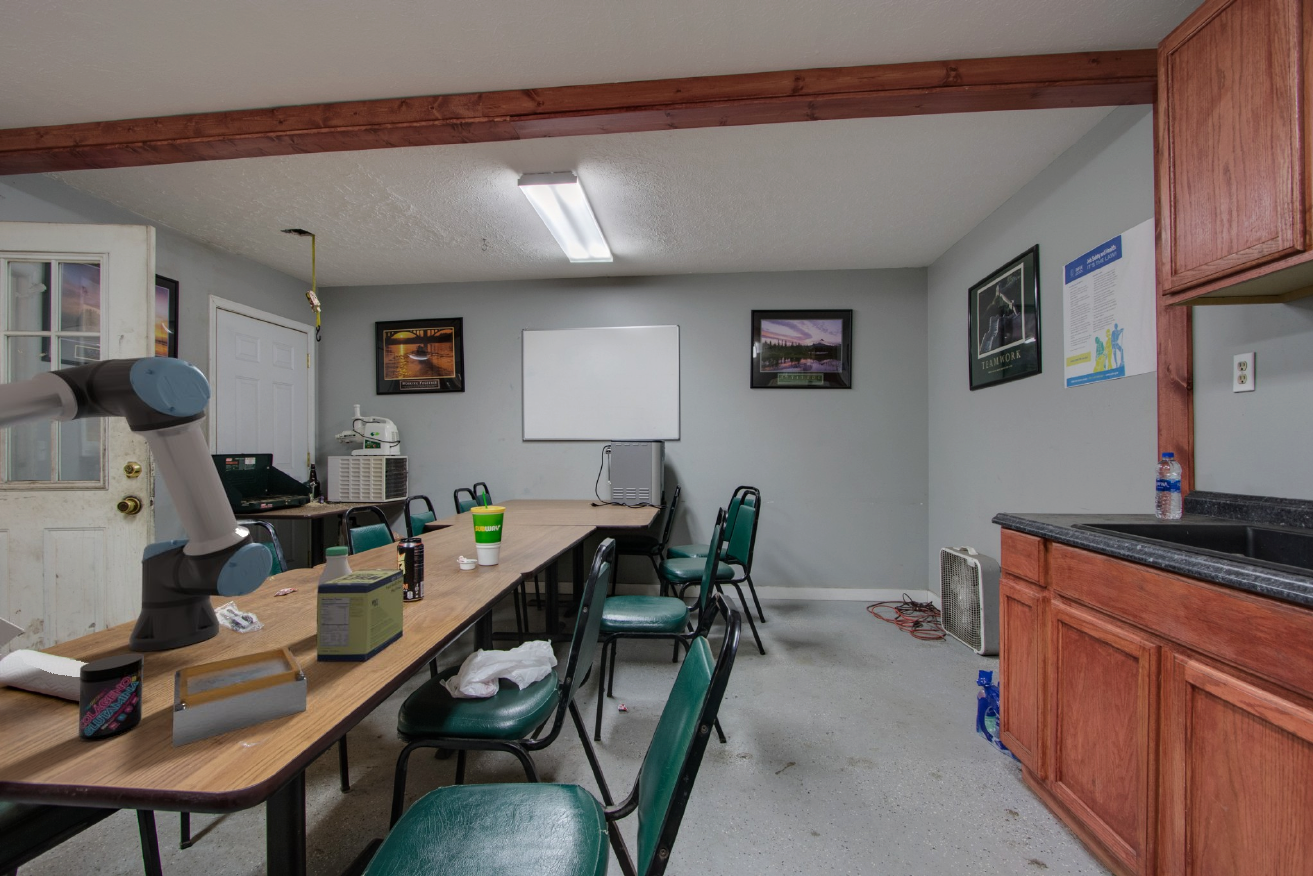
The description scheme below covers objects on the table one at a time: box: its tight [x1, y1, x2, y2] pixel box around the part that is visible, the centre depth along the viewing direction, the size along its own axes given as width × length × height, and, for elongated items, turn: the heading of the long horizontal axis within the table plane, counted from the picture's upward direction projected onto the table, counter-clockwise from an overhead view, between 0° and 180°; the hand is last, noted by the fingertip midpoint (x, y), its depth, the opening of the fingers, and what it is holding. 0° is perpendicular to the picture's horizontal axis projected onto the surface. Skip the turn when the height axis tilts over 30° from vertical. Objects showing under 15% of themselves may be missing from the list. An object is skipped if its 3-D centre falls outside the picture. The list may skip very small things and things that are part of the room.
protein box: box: [316, 568, 404, 662], centre depth 113 cm, size 10×16×16 cm
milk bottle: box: [316, 546, 353, 629], centre depth 123 cm, size 8×8×20 cm
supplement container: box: [77, 653, 145, 742], centre depth 79 cm, size 7×7×10 cm
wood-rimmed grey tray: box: [172, 646, 308, 748], centre depth 86 cm, size 18×16×6 cm
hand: (2, 650), depth 72 cm, fingers open, 13 cm apart
